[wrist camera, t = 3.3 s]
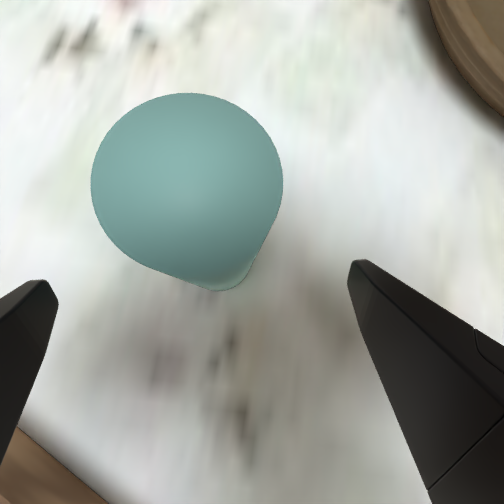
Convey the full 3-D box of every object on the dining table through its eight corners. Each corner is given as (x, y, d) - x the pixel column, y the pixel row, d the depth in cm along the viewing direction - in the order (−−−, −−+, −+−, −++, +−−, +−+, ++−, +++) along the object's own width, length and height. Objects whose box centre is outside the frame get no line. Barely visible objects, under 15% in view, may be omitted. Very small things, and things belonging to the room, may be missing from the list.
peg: (264, 252, 19) (319, 166, 7) (223, 304, 18) (202, 315, 6) (213, 213, 19) (175, 59, 7) (171, 263, 19) (48, 193, 6)
